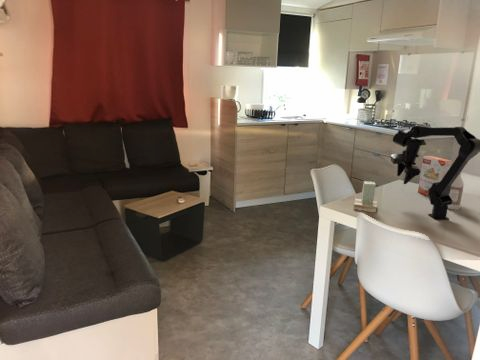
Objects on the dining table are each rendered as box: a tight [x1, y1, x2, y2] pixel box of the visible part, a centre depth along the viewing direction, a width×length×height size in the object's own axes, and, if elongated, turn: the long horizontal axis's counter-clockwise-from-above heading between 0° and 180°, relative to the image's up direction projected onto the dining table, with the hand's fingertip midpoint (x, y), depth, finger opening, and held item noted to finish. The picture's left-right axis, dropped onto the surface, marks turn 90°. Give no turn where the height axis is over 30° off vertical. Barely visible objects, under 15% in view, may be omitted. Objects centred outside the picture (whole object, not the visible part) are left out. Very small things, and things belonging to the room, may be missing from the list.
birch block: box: [353, 198, 378, 213], centre depth 193 cm, size 10×10×3 cm
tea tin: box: [360, 180, 376, 205], centre depth 191 cm, size 5×5×10 cm
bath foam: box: [447, 170, 465, 211], centre depth 197 cm, size 7×7×20 cm
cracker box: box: [417, 155, 453, 197], centre depth 217 cm, size 14×6×21 cm, turn 25°
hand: (401, 179), depth 199 cm, fingers open, 9 cm apart
